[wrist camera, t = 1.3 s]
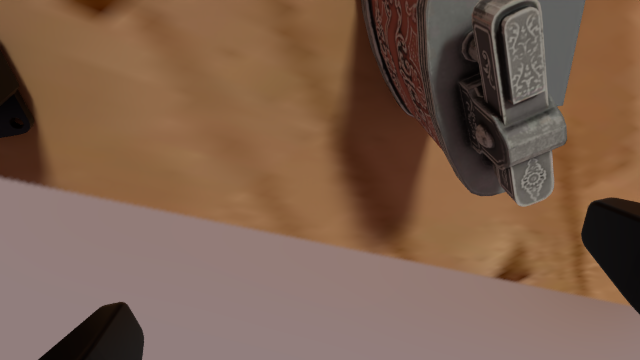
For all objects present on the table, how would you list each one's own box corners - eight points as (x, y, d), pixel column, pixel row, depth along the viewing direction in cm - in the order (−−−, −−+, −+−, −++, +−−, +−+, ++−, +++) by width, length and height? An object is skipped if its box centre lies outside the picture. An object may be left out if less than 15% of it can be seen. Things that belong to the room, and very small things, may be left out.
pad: (449, 123, 22) (452, 126, 22) (462, -109, 16) (465, -110, 16) (559, 102, 22) (562, 105, 22) (607, -131, 17) (613, -132, 17)
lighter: (458, 94, 21) (600, 217, 13) (394, 121, 21) (495, 259, 13) (421, -84, 17) (604, -67, 8) (341, -47, 17) (443, 4, 9)
